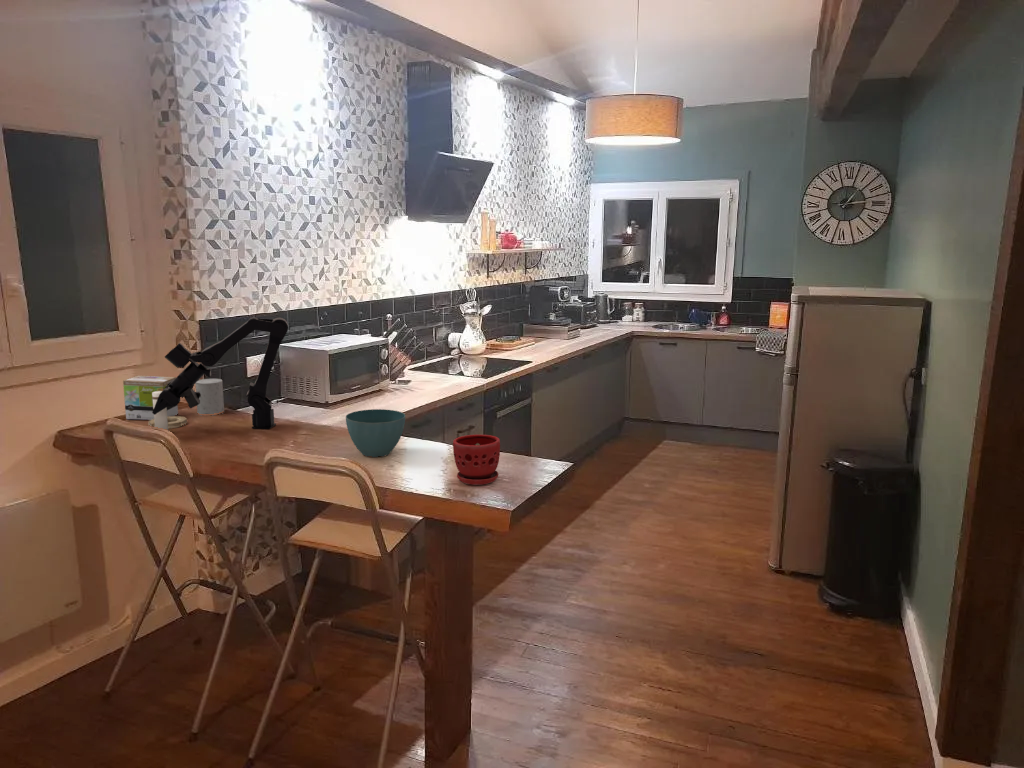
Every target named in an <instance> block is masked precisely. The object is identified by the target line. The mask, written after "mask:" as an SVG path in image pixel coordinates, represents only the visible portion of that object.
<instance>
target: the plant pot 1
mask: <svg viewBox="0 0 1024 768" xmlns="http://www.w3.org/2000/svg"><path fill="white" fill-rule="evenodd" d="M345 423H346V424H345V425H346V427H347V431H348V432H347V433H348V434H349V437H350V440H351V441H352V442H353V445H354V446H355V447H356V448H357V450H358V451H359V452H360V454H362V455H363V456H364V455H365V456H364V457H368V456H372V457H371V458H379V457H378V456H382V457H386V456H388V455H390V454H391V453H392V451H394V449H395V448H396V446H397V445H398V443H399V442H400V440H401V437H402V434H403V432H404V428H405V423H406V414H405V413H404V412H402V411H398V410H394V409H383V408H382V409H381V408H379V409H377V408H373V409H364V410H363V409H361V410H357V411H352V412H350V413H347V414H346V415H345ZM385 455H386V456H385Z"/></svg>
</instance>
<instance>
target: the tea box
mask: <svg viewBox="0 0 1024 768" xmlns="http://www.w3.org/2000/svg"><path fill="white" fill-rule="evenodd" d="M176 377H177V376H157V375H156V376H154V375H152V376H151V375H150V376H149V375H136V376H134V377H130V378H128V379H125V380H123V381H122V383H123V384H122V386H123V396H124V397H123V398H124V400H123V401H124V410H125V419H126V420H144V421H145V420H146V421H147V420H148V421H150V420H152V419H154V414H153V413H152V412H153V399H152V392H156V391H163V390H164V389H165V387H166V386H167V384H168V383H169V382H170V381H171V380H174V379H175V378H176ZM178 407H179V403H178V404H177V405H176V406H175V407H167V416H169V417H170V416H175V415H176V416H178V415H179V408H178ZM177 414H178V415H177Z"/></svg>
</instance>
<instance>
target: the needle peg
mask: <svg viewBox="0 0 1024 768" xmlns="http://www.w3.org/2000/svg"><path fill="white" fill-rule="evenodd" d="M161 392H162V391H156V392H152V399H153V409H154V407H155V404H156V402H157V399H158V397H159V395H160V393H161ZM154 422H155V427H158V428H163V429H167V430H168V431H169V429H168V420H167V407H166V408H165V409H163V410H161V411H160V412H158V413H157V414H155V415H154Z"/></svg>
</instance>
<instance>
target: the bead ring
mask: <svg viewBox="0 0 1024 768" xmlns="http://www.w3.org/2000/svg"><path fill="white" fill-rule="evenodd" d="M167 420H168V430H169V429H175V428H180V427H183V426H185V425H187V424H188V418H186V417H185V416H181V415H180V416H179V415H176V416H170V417H169V416H167ZM147 423H148V426H149V425H150V426H154V427H155V422H154V419H152V420H148V422H147ZM186 423H187V424H186ZM184 424H185V425H184ZM182 425H183V426H182Z"/></svg>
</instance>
